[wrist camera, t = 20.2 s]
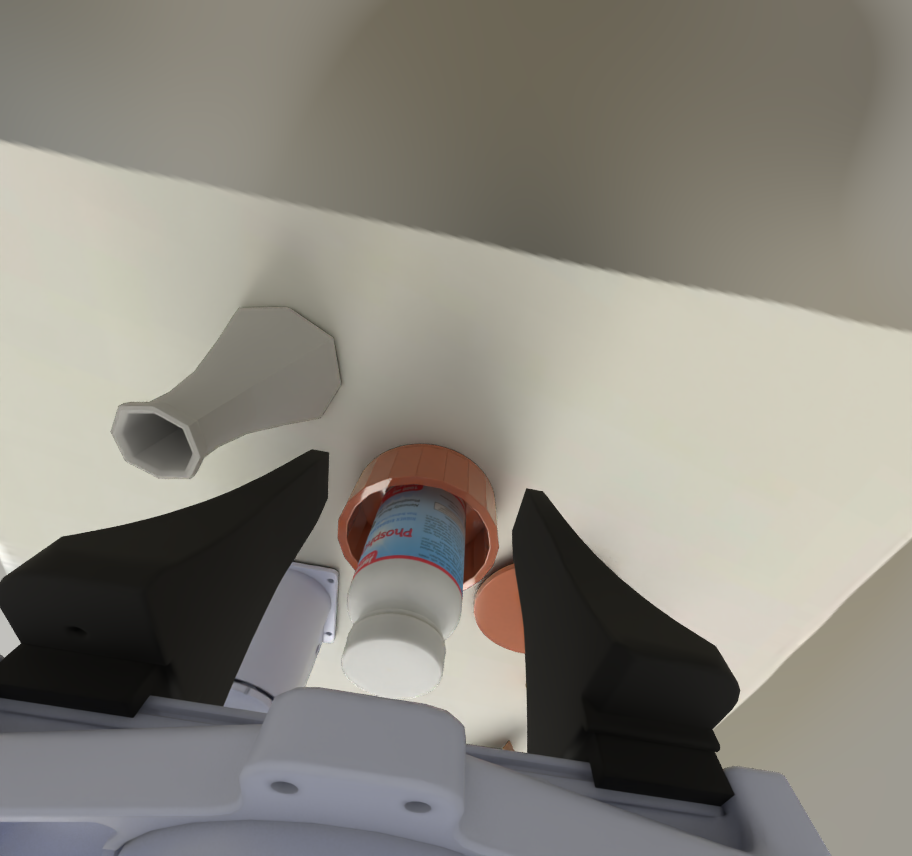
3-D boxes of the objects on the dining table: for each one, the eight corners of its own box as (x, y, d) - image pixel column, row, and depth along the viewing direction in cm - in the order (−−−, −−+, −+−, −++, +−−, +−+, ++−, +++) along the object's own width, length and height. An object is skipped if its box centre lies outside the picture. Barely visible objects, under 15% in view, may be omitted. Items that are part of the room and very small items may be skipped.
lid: (582, 651, 33) (597, 710, 29) (462, 631, 33) (460, 688, 28) (630, 565, 28) (658, 621, 24) (490, 540, 28) (492, 593, 23)
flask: (352, 326, 21) (260, 385, 12) (333, 431, 24) (249, 541, 15) (226, 285, 20) (27, 315, 11) (223, 399, 23) (67, 493, 14)
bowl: (478, 565, 29) (479, 609, 25) (352, 543, 28) (335, 584, 25) (510, 458, 24) (516, 494, 21) (360, 430, 24) (340, 462, 20)
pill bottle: (410, 457, 24) (364, 605, 14) (483, 501, 26) (488, 666, 15) (367, 513, 27) (300, 675, 16) (435, 551, 28) (412, 722, 18)
